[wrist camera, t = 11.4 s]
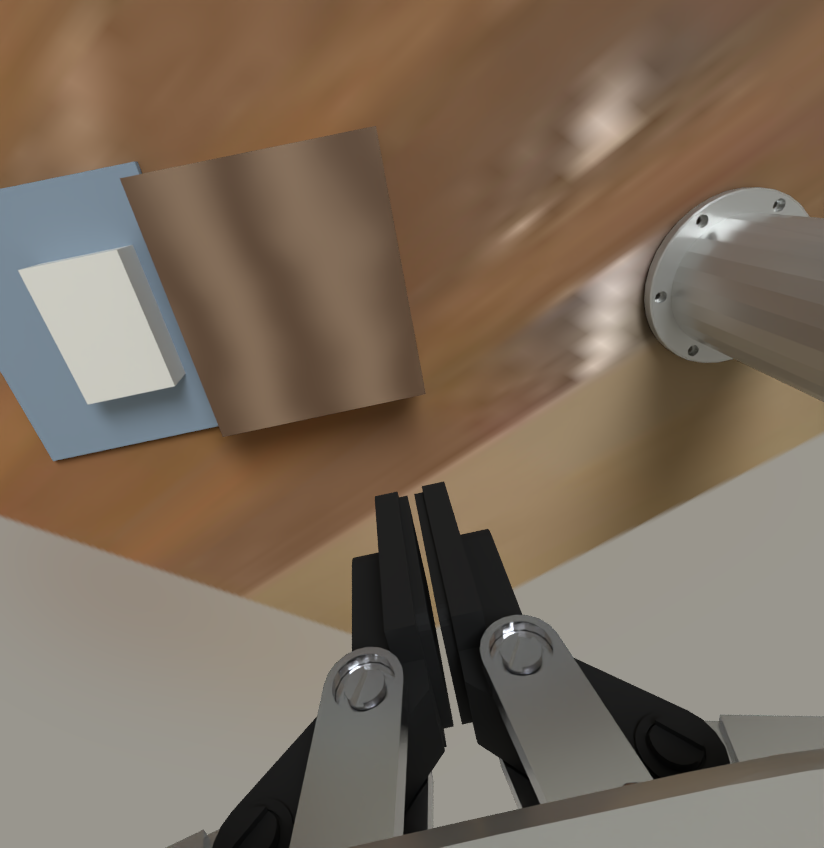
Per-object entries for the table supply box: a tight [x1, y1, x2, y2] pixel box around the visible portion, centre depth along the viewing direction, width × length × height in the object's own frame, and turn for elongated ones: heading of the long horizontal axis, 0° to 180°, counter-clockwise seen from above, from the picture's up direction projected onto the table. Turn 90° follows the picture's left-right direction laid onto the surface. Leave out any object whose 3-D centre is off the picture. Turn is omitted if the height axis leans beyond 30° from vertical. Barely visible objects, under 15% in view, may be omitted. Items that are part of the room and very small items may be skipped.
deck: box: [120, 126, 426, 437], centre depth 33 cm, size 14×16×5 cm
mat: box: [0, 162, 218, 461], centre depth 35 cm, size 14×18×1 cm
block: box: [18, 245, 186, 404], centre depth 34 cm, size 6×9×2 cm, turn 10°
